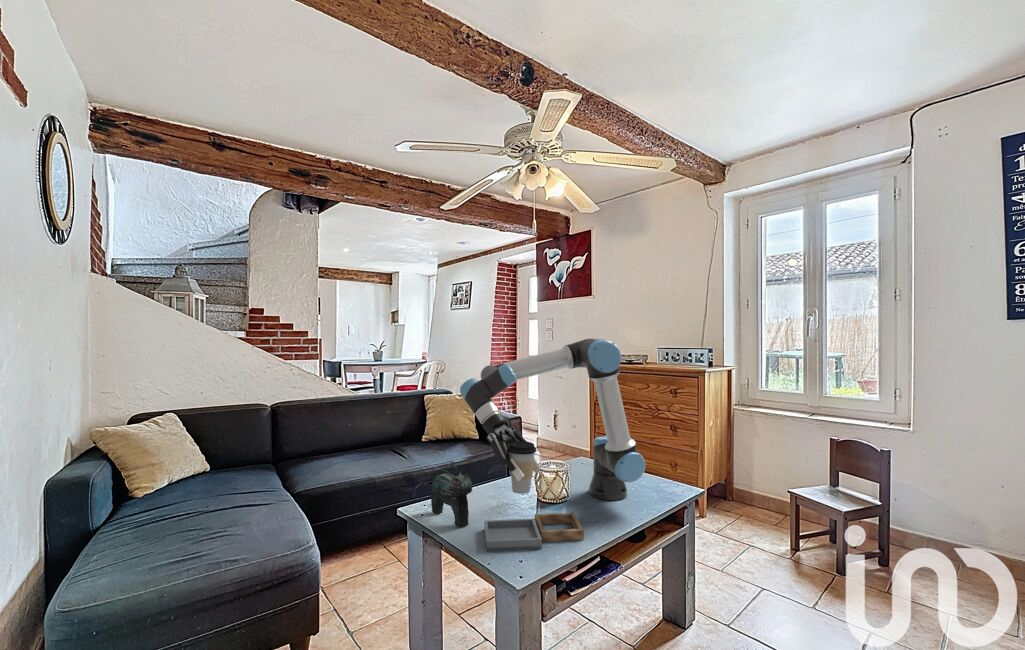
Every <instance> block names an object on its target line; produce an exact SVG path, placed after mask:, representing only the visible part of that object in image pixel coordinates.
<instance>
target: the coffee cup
mask: <svg viewBox="0 0 1025 650" xmlns="http://www.w3.org/2000/svg"><path fill="white" fill-rule="evenodd" d="M526 441H527V440H526ZM526 441H516V442H512V443H510V444H509V446H507V449H508V452H509V456H510V460H511V459H512V458H513V460H514V461H515V463H516V464H517V466H518V467H519V468H520V470H521V471H522V473H523V474H524V477H523V478H522V479H521V480H519V481H517V479H516V478H515V476H514V475H513V473H512V472H511V471H510V470H509V471H510V472H509V473H510V477H511V479H510V481H511V488H512V490H511V491H512V492H513V493H514V494H522V495H523V494H528V493H530V492H531V487H532V486H531V485H532V479H533V478H532V477H533V473H534V471H533V465H534V458H535V453H537V447H536V446H535V444H534V443H533V442H531V441H527V442H526Z"/></svg>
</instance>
